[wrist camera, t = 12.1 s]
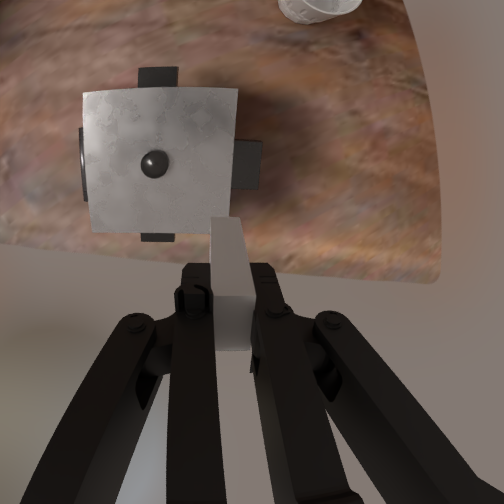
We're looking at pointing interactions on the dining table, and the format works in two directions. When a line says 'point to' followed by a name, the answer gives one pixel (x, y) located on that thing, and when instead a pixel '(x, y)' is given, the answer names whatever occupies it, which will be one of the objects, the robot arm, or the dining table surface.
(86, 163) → the lid
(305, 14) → the white cup
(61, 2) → the dining table surface
